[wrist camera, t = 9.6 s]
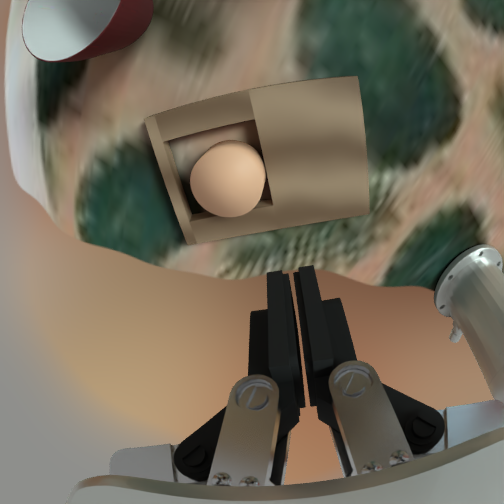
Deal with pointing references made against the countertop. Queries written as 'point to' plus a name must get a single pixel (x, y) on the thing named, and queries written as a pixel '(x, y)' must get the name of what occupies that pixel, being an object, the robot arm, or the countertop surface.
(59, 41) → the mug
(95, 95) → the countertop surface
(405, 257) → the countertop surface
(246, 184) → the tan round bun
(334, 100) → the tan piece
